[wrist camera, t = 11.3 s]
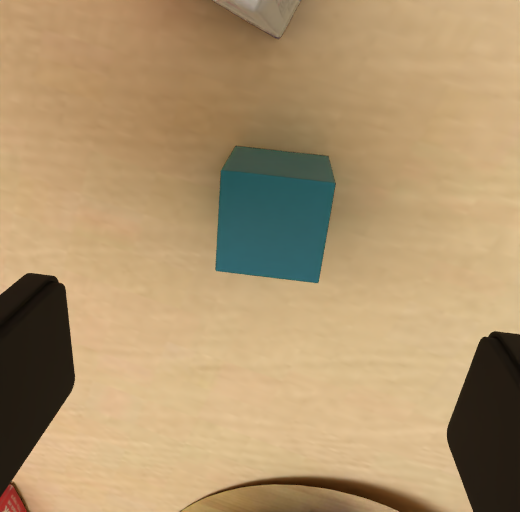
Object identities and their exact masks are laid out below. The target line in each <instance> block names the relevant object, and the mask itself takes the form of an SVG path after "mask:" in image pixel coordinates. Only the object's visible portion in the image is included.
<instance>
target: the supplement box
mask: <svg viewBox="0 0 520 512" xmlns="http://www.w3.org/2000/svg"><path fill="white" fill-rule="evenodd" d="M213 1H214V2H216V3H217V4H219V5H221V6H222V7H224V8H226V9H227V10H229V11H230V12H232V13H234V14H235V15H237V16H239V17H240V18H242V19H244V20H246V21H247V22H249V23H251V24H252V25H254V26H256V27H257V28H259V29H261V30H263V31H264V32H266V33H268V34H270V35H272V36H273V37H275V38H277V39H280V37H281V36H282V35H283V33H284V31H285V29H286V27H287V26H288V24H289V22H290V20H291V18H292V16H293V14H294V12H295V11H296V9H297V7H298V5H299V3H300V1H301V0H213Z"/></svg>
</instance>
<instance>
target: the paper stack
mask: <svg viewBox="0 0 520 512" xmlns="http://www.w3.org/2000/svg"><path fill="white" fill-rule="evenodd" d="M181 512H399V511H397V510H394V509H392V508H390V507H388V506H386V505H382V504H380V503H377V502H374V501H371V500H369V499H365V498H363V497H358V496H356V495H351V494H347V493H344V492H339V491H335V490H330V489H325V488H318V487H309V486H302V485H278V484H273V485H257V486H248V487H242V488H237V489H233V490H229V491H225V492H221V493H218V494H215V495H212V496H209V497H206V498H204V499H202V500H200V501H198V502H196V503H194V504H192V505H190V506H189V507H187V508H185V509H184V510H182V511H181Z"/></svg>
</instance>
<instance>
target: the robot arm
mask: <svg viewBox="0 0 520 512" xmlns="http://www.w3.org/2000/svg"><path fill="white" fill-rule="evenodd" d="M74 381H75V373H74V364H73V355H72V345H71V336H70V327H69V317H68V308H67V299H66V290H65V286H64V285H63V284H62V283H59V282H58V280H57V278H56V277H55V276H50V275H42V274H34V273H27V274H26V275H24V276H23V277H22V278H20V279H19V280H18V281H17V282H16V283H14V284H13V285H12V286H11V287H9V288H8V289H7V290H6V291H5V292H3V293H2V294H1V295H0V497H1V496H2V494H3V493H4V491H5V490H6V488H7V487H8V485H9V484H10V482H11V481H12V479H13V478H14V476H15V475H16V473H17V472H18V470H19V469H20V467H21V466H22V464H23V463H24V461H25V460H26V458H27V457H28V455H29V454H30V452H31V451H32V449H33V448H34V446H35V445H36V444H37V442H38V441H39V439H40V438H41V436H42V435H43V433H44V432H45V430H46V429H47V427H48V426H49V424H50V423H51V421H52V420H53V418H54V417H55V415H56V414H57V412H58V411H59V409H60V408H61V406H62V405H63V403H64V402H65V400H66V399H67V397H68V396H69V394H70V393H71V391H72V388H73V386H74ZM447 440H448V444H449V447H450V450H451V453H452V455H453V458H454V461H455V464H456V466H457V469H458V472H459V474H460V477H461V480H462V482H463V485H464V488H465V491H466V493H467V496H468V499H469V501H470V504H471V507H472V509H473V512H520V335H519V334H511V333H503V332H496V331H494V332H492V333H491V334H490V335H489V336H488V337H483V338H482V339H481V340H480V342H479V344H478V347H477V350H476V352H475V355H474V358H473V360H472V363H471V366H470V368H469V371H468V374H467V377H466V379H465V382H464V385H463V387H462V390H461V393H460V395H459V398H458V401H457V403H456V406H455V409H454V411H453V414H452V417H451V419H450V422H449V425H448V428H447Z"/></svg>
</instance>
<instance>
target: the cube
mask: <svg viewBox="0 0 520 512" xmlns="http://www.w3.org/2000/svg"><path fill="white" fill-rule="evenodd" d="M335 185H336V183H335V180H334V176H333V172H332V168H331V164H330V161H329V157H328V156H322V155H313V154H304V153H295V152H286V151H277V150H268V149H259V148H250V147H241V146H235V148H234V150H233V151H232V153H231V155H230V156H229V158H228V160H227V161H226V163H225V165H224V166H223V168H222V170H221V178H220V196H219V214H218V232H217V250H216V268H215V270H216V271H221V272H229V273H237V274H246V275H254V276H263V277H271V278H279V279H288V280H296V281H305V282H313V283H318V282H319V277H320V271H321V265H322V260H323V254H324V248H325V242H326V237H327V231H328V225H329V219H330V213H331V208H332V202H333V196H334V190H335Z"/></svg>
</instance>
